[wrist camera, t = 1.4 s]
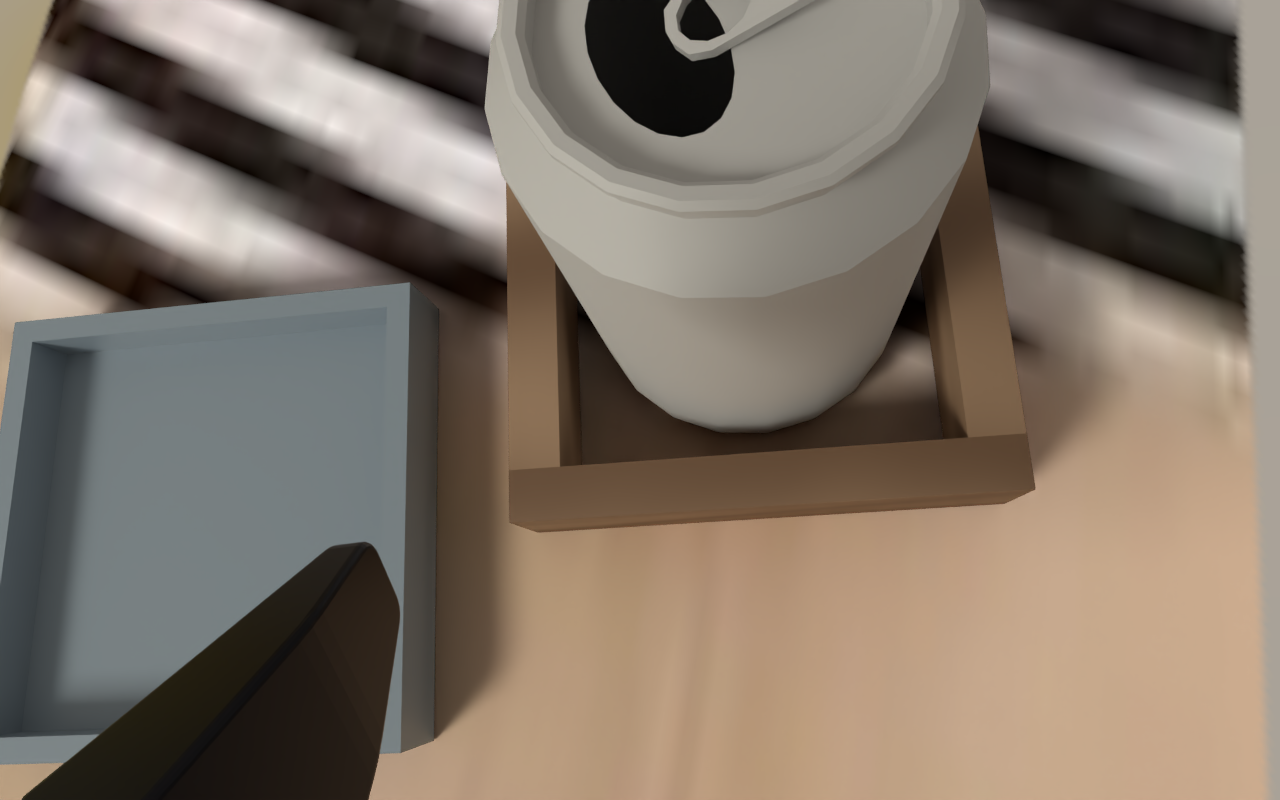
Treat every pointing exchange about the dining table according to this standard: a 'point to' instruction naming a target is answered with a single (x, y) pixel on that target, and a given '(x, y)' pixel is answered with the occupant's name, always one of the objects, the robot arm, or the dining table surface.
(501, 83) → the can
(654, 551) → the dining table surface
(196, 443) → the tray
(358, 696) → the robot arm
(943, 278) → the holder collar
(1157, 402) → the dining table surface
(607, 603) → the dining table surface
